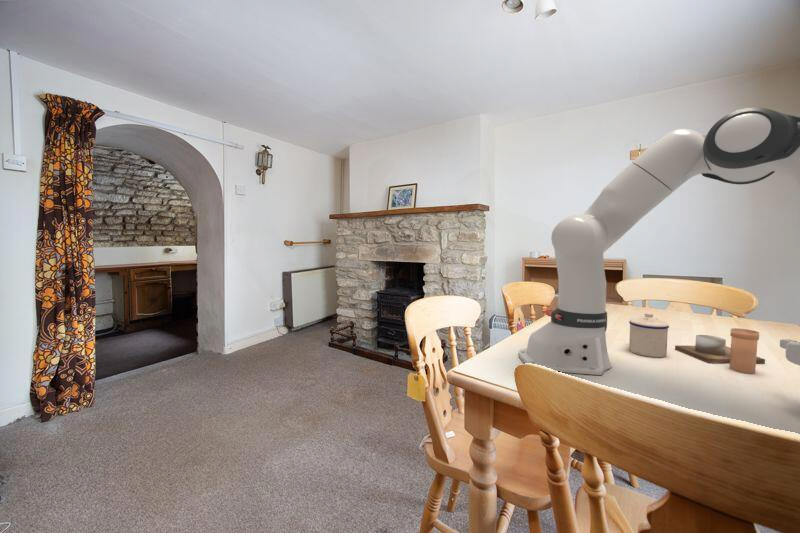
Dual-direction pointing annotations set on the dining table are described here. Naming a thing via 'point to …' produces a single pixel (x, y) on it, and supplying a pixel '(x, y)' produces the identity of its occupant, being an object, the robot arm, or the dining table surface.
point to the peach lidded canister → (743, 350)
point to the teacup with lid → (648, 336)
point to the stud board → (711, 357)
